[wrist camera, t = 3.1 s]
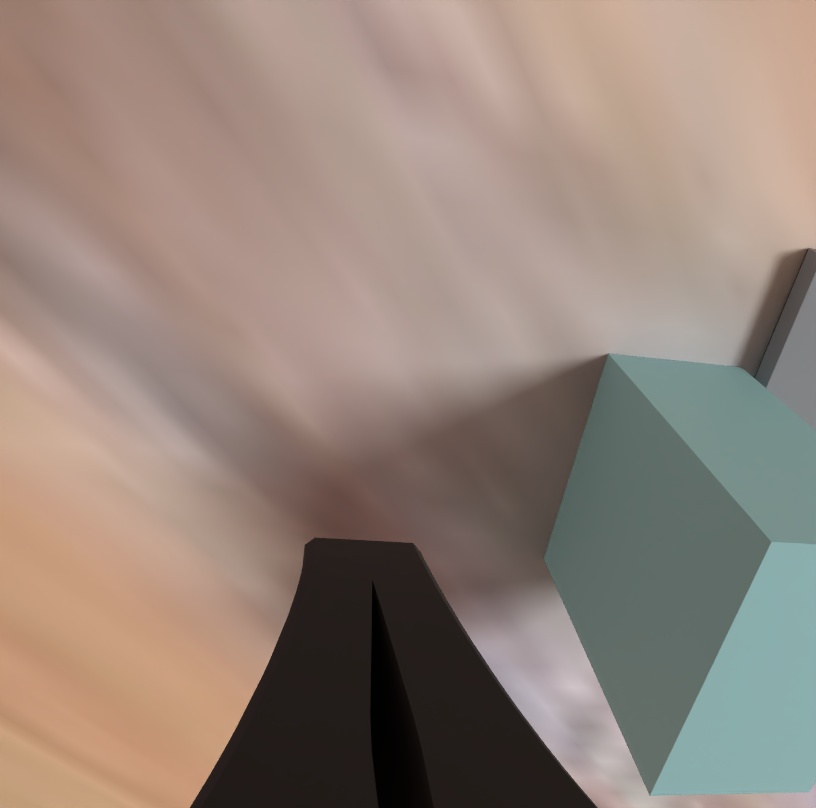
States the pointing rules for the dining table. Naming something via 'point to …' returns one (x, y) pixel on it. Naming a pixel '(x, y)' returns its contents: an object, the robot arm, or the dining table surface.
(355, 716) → the robot arm
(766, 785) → the teal block
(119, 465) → the dining table surface
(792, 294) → the slate grey mat
